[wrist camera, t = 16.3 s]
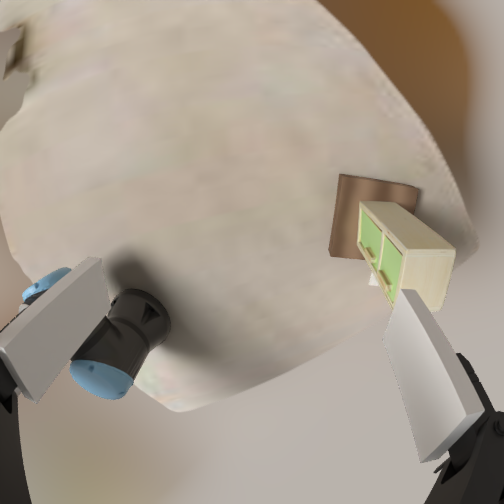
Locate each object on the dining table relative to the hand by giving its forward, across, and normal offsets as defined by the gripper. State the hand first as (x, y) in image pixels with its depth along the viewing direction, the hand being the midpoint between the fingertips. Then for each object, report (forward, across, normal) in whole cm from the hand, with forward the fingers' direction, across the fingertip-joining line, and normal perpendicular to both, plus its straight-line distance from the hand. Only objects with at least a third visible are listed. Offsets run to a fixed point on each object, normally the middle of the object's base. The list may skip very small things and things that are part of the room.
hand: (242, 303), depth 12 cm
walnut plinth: (+39, +18, -6) cm, 43 cm away
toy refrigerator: (+36, +18, -6) cm, 40 cm away
